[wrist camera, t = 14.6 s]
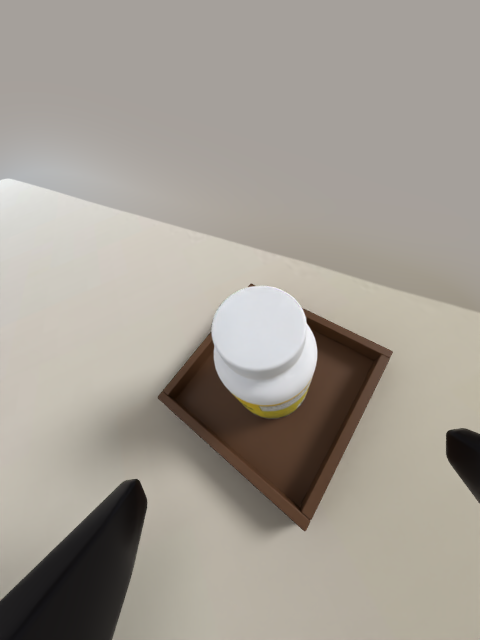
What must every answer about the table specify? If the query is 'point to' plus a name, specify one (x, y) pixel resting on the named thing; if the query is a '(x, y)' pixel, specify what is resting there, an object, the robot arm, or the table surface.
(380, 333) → the table surface
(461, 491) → the table surface
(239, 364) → the supplement bottle
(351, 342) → the tray
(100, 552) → the robot arm
